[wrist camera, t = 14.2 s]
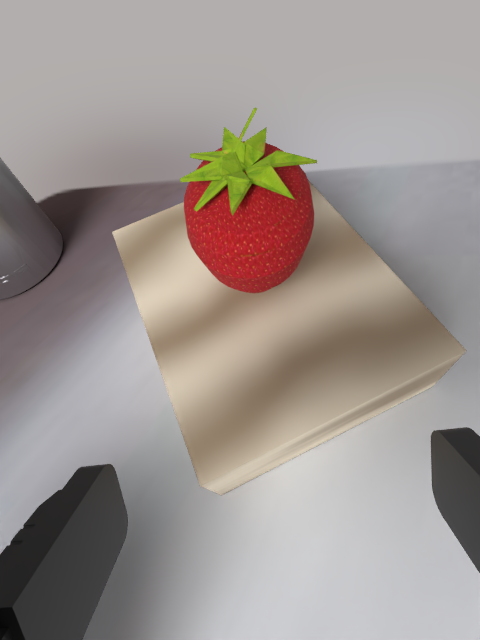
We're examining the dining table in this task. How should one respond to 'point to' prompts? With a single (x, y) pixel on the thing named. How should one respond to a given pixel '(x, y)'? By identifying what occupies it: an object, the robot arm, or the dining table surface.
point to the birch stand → (279, 344)
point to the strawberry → (249, 212)
